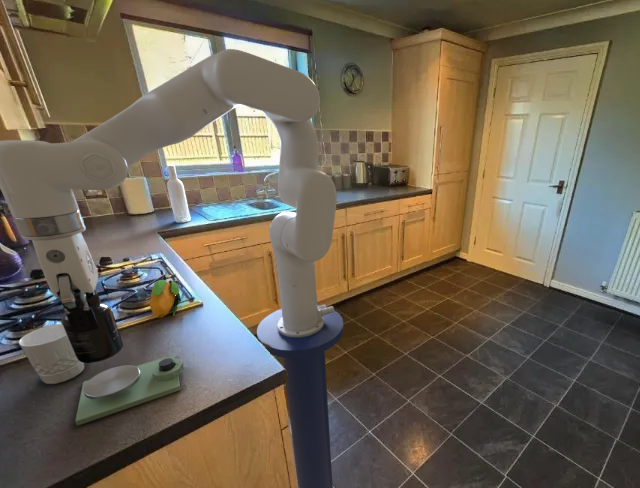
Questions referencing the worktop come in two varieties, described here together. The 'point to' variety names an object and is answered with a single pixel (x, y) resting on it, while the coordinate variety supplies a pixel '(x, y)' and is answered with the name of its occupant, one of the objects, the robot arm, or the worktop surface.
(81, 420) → the scale
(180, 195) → the bottle
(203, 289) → the worktop surface
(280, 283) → the robot arm
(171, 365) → the tare button
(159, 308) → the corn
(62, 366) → the white cup
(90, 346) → the supplement bottle
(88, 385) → the scale pan
